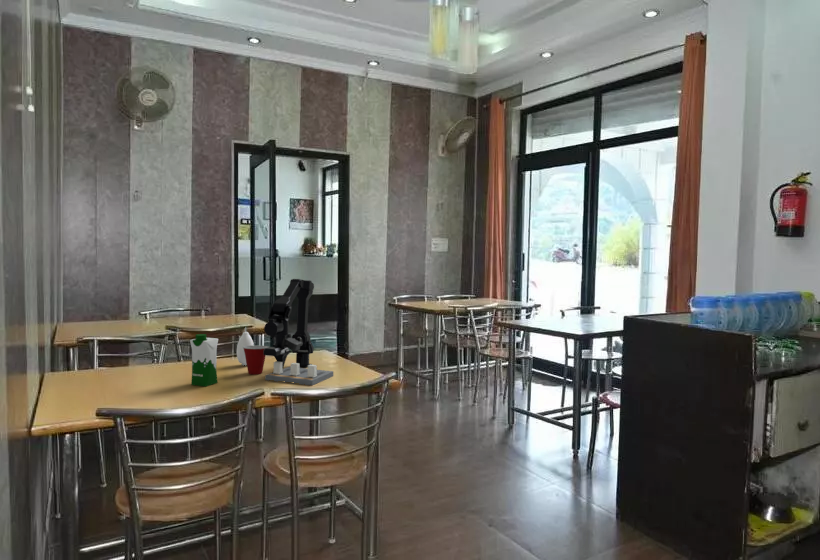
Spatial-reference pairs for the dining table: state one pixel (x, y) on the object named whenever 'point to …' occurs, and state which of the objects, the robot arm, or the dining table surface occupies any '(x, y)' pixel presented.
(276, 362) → the block
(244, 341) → the sauce bottle
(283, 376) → the breaker panel
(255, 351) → the plastic cup
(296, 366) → the block
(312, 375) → the block
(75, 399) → the dining table surface
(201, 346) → the milk carton
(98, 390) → the dining table surface
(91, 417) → the dining table surface
